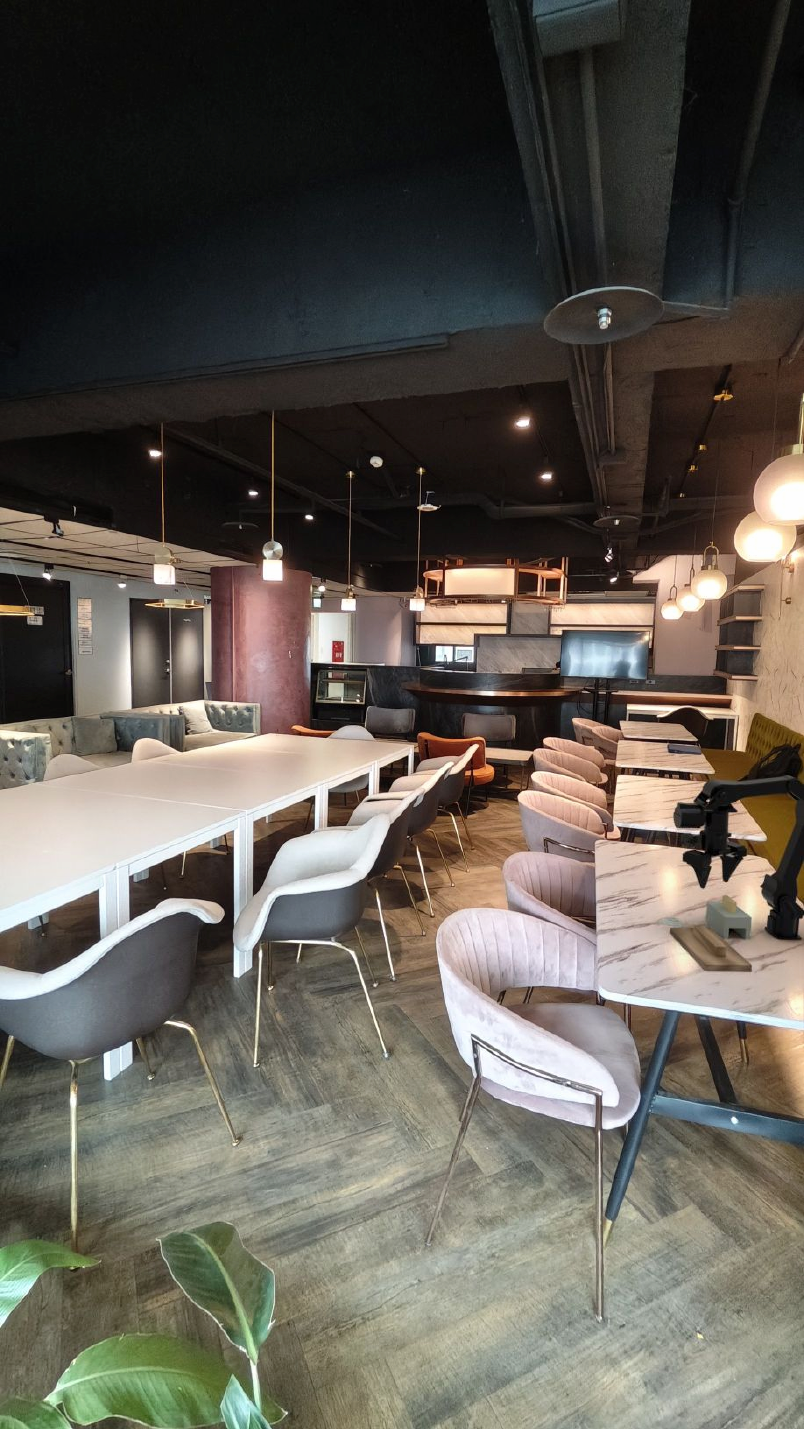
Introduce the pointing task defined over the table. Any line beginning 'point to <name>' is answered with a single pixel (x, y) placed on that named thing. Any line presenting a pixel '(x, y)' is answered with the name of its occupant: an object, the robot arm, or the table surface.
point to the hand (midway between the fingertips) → (713, 884)
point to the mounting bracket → (672, 922)
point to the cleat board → (707, 956)
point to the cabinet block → (728, 918)
